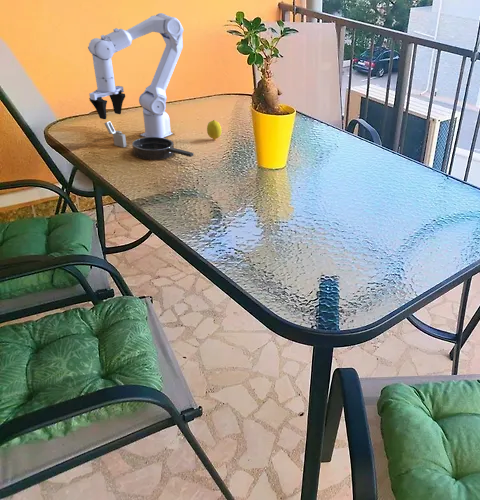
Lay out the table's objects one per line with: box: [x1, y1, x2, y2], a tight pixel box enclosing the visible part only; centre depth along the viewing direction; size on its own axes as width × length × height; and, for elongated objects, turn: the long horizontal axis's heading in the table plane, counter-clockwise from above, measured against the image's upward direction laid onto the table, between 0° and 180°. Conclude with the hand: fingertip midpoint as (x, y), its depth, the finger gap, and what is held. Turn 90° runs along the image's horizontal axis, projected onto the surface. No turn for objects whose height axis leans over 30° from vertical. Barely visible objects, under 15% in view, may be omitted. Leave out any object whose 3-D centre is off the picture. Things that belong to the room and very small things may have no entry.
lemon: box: [206, 119, 223, 141], centre depth 184 cm, size 6×6×8 cm
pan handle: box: [169, 147, 195, 158], centre depth 163 cm, size 2×9×1 cm, turn 71°
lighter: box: [103, 120, 128, 148], centre depth 167 cm, size 7×2×8 cm, turn 72°
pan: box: [131, 137, 175, 161], centre depth 166 cm, size 14×14×4 cm
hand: (110, 116), depth 167 cm, fingers open, 7 cm apart
